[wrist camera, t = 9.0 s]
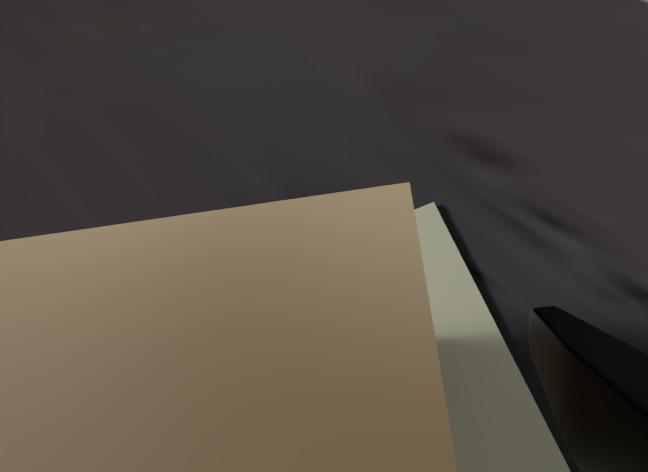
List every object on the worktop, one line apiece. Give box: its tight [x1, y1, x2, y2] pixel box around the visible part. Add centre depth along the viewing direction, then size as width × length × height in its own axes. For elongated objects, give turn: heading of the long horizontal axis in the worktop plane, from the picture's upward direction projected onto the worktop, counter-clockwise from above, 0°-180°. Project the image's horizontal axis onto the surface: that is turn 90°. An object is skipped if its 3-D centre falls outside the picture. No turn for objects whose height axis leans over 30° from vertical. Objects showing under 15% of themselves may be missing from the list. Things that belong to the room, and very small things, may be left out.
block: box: [0, 182, 458, 472], centre depth 10 cm, size 4×4×13 cm
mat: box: [414, 202, 571, 472], centre depth 16 cm, size 12×12×1 cm
